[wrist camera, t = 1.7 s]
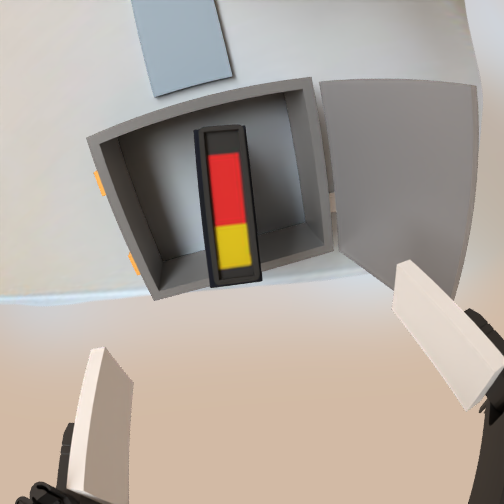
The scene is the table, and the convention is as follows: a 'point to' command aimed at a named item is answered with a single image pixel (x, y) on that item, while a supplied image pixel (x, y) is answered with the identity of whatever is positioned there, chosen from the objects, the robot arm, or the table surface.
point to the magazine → (227, 205)
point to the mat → (180, 43)
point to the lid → (403, 173)
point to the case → (270, 244)
